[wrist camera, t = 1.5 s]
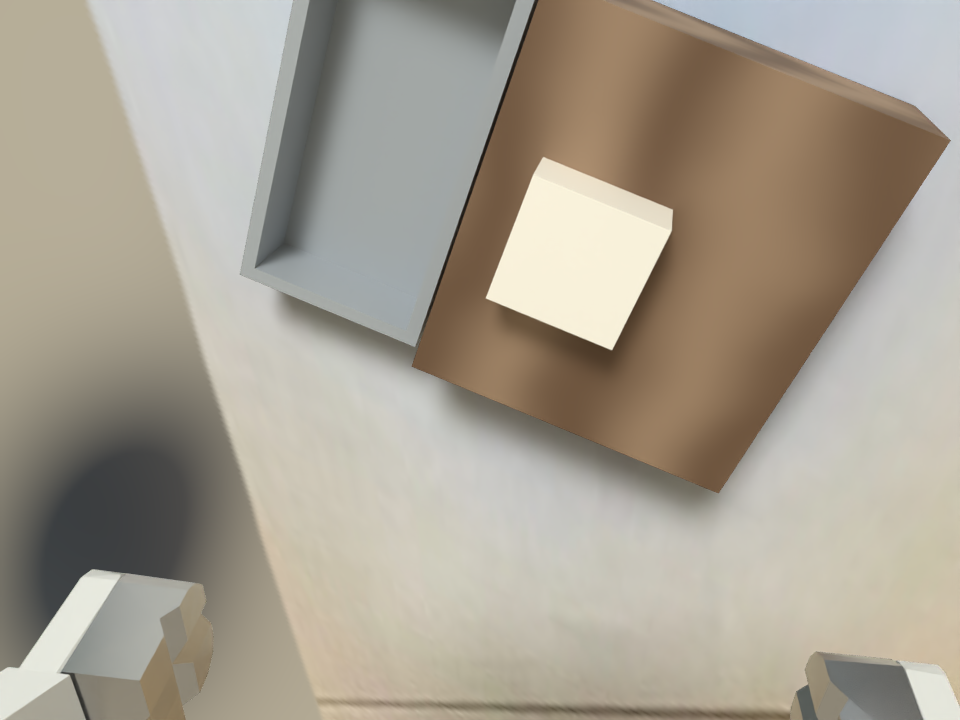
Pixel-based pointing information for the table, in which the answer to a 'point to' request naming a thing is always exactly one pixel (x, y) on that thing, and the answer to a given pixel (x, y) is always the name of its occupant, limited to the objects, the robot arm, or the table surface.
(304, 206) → the box
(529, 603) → the table surface
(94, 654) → the robot arm
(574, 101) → the walnut block
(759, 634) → the table surface
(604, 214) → the tile
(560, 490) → the table surface
